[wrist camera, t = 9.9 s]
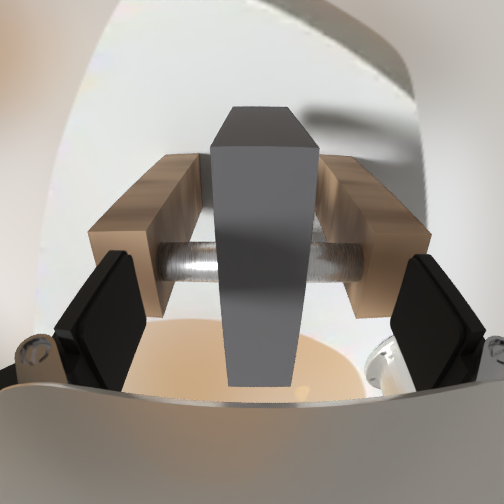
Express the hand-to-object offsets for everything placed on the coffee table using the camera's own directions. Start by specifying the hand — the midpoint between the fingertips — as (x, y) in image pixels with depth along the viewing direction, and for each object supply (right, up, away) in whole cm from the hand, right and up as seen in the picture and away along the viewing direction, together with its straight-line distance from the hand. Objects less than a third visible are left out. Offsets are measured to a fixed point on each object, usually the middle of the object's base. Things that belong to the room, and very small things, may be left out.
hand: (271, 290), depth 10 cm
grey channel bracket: (0, +5, +12) cm, 13 cm away
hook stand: (0, +7, +17) cm, 18 cm away
